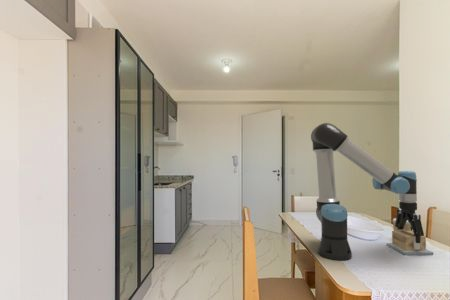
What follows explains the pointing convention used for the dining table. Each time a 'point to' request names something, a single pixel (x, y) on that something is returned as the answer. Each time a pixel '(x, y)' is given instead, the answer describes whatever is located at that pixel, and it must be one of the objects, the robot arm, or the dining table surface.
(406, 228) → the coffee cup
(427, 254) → the grey flat square slab
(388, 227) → the dining table surface
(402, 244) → the oak block
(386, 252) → the dining table surface
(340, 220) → the robot arm
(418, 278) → the dining table surface
